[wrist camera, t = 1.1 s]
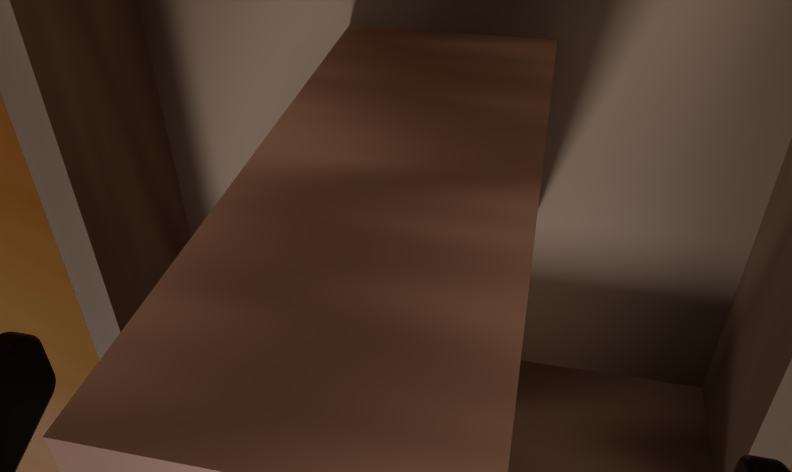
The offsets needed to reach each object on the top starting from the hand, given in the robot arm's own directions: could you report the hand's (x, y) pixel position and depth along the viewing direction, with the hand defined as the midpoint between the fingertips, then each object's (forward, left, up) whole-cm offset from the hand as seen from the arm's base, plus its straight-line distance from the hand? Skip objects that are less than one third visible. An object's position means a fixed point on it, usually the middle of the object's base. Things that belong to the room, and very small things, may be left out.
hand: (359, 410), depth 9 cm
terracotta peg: (0, 0, -8) cm, 8 cm away
